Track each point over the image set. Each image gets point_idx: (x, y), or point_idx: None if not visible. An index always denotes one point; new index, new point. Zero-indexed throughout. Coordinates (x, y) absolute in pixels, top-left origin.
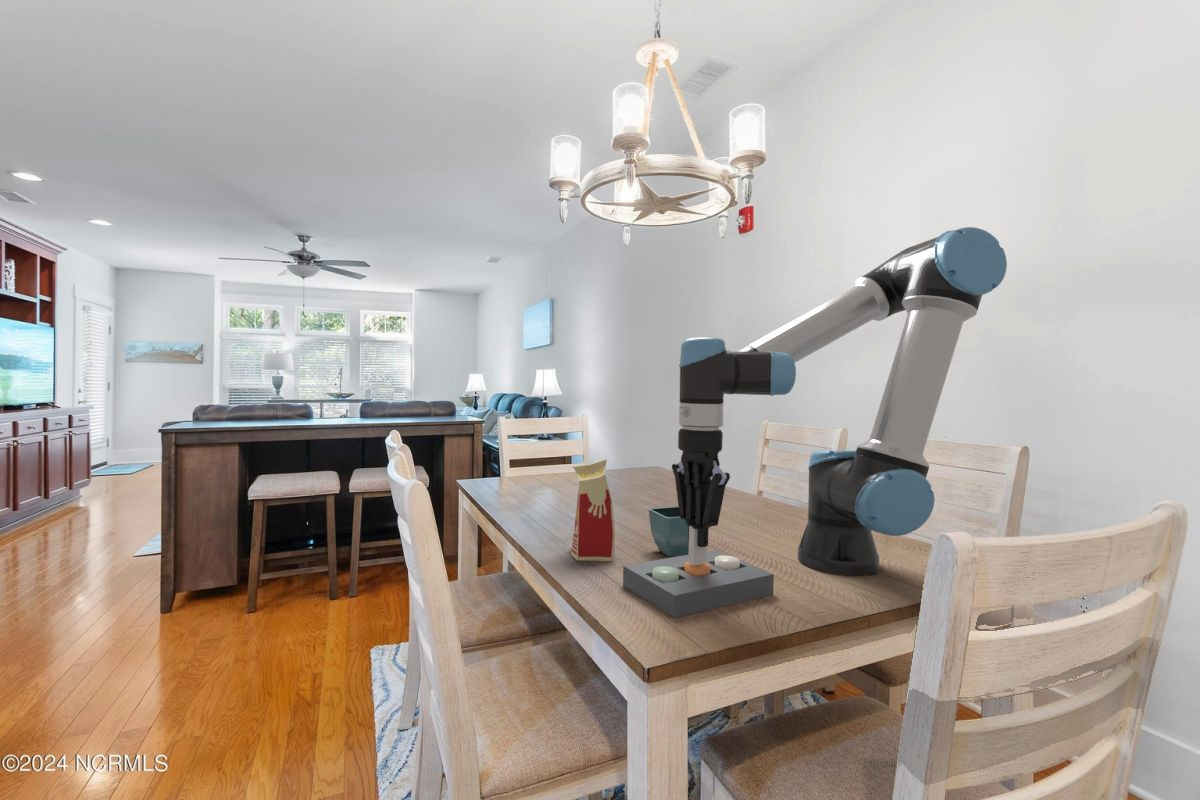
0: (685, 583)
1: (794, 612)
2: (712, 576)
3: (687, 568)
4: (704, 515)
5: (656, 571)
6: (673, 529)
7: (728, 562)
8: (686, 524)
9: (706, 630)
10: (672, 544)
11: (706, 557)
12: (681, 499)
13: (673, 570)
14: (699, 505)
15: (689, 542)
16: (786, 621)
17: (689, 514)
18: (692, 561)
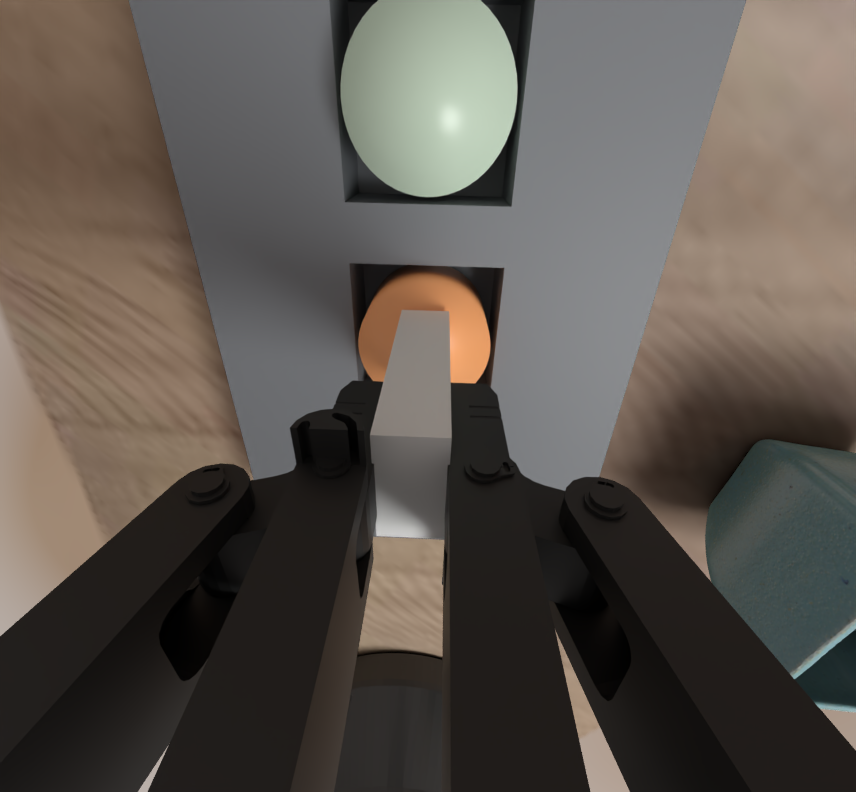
0: (278, 138)
1: (155, 440)
2: (323, 340)
3: (425, 280)
4: (167, 564)
5: (446, 16)
6: (828, 531)
7: None
8: (792, 599)
9: (34, 29)
10: (777, 473)
11: (532, 470)
12: (715, 720)
13: (408, 157)
14: (216, 689)
15: (443, 366)
16: (95, 377)
17: (464, 532)
18: (411, 317)
